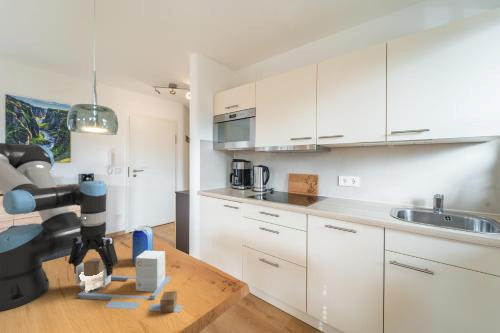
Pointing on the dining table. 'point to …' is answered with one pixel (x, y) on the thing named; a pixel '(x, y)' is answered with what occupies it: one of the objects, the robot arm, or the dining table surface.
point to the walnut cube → (168, 302)
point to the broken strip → (135, 304)
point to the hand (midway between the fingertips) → (93, 282)
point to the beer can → (142, 241)
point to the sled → (96, 267)
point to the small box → (150, 270)
